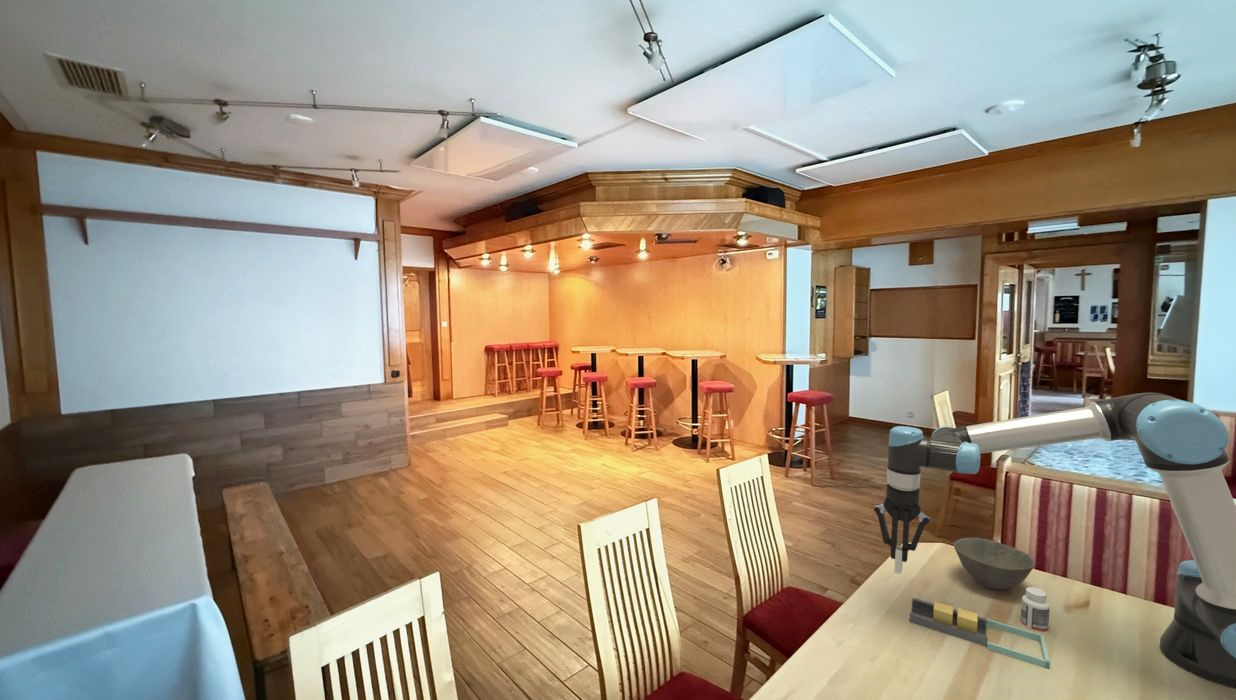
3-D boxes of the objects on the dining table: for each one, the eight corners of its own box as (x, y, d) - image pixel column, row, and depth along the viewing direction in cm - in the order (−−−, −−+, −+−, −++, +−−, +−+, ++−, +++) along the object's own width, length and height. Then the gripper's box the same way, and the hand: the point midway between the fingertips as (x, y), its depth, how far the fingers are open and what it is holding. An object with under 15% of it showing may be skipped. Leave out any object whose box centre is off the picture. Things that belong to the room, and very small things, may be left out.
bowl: (1050, 597, 136) (1052, 563, 135) (999, 608, 131) (1001, 573, 130) (984, 563, 154) (986, 533, 153) (937, 572, 149) (939, 541, 148)
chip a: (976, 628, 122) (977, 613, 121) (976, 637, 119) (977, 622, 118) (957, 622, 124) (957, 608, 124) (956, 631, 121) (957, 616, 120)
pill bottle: (1051, 629, 123) (1053, 593, 122) (1043, 637, 120) (1046, 600, 119) (1024, 618, 127) (1026, 583, 126) (1016, 626, 124) (1019, 589, 123)
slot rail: (985, 629, 123) (986, 618, 122) (987, 650, 115) (987, 638, 115) (912, 607, 132) (912, 597, 132) (909, 625, 125) (909, 614, 124)
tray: (1042, 644, 117) (1043, 635, 117) (1048, 673, 108) (1049, 662, 108) (985, 627, 124) (986, 618, 123) (987, 653, 115) (987, 643, 114)
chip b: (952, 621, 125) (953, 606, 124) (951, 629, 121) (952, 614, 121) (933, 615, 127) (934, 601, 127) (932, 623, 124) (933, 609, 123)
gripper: (933, 486, 126) (927, 572, 129) (877, 476, 134) (873, 557, 136) (931, 496, 120) (926, 586, 122) (872, 484, 128) (868, 569, 130)
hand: (898, 571), depth 129 cm, fingers closed
